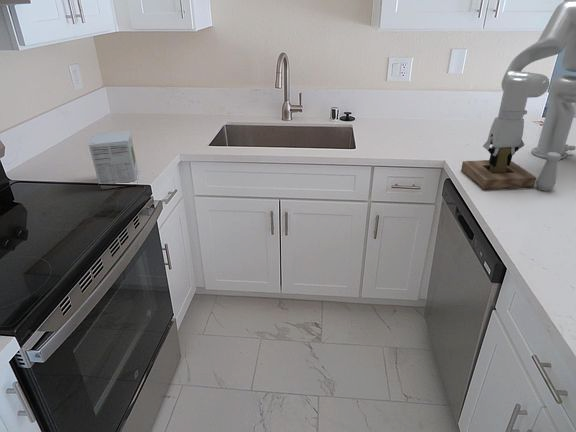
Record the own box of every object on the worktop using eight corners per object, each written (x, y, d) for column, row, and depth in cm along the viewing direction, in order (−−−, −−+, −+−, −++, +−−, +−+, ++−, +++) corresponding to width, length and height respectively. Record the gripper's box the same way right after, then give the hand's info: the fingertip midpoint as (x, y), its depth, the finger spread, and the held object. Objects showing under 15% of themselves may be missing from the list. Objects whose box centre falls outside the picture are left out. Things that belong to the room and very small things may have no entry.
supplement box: (137, 186, 154) (128, 140, 146) (99, 191, 151) (87, 144, 143) (139, 173, 165) (130, 130, 157) (104, 177, 162) (93, 133, 154)
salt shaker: (547, 185, 147) (557, 150, 140) (557, 192, 142) (568, 155, 135) (531, 185, 147) (540, 150, 140) (540, 192, 142) (550, 156, 135)
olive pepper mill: (486, 176, 150) (493, 146, 145) (488, 170, 155) (495, 141, 150) (505, 178, 148) (512, 149, 143) (506, 172, 153) (513, 144, 147)
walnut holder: (506, 168, 161) (508, 159, 159) (533, 188, 145) (536, 177, 143) (460, 171, 160) (462, 161, 158) (483, 190, 144) (485, 179, 142)
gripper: (528, 110, 145) (516, 160, 153) (481, 112, 144) (471, 162, 153) (541, 116, 138) (527, 167, 147) (492, 118, 137) (481, 170, 146)
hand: (499, 164), depth 150 cm, fingers closed on olive pepper mill, 4 cm apart
